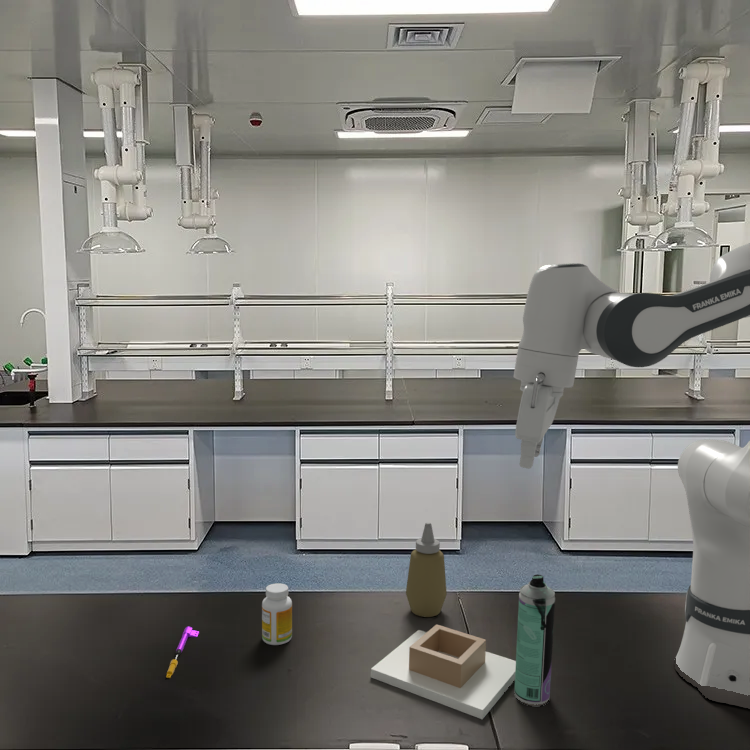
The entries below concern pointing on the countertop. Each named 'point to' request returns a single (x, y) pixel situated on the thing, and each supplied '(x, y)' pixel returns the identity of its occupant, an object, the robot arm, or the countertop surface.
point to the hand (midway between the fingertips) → (529, 461)
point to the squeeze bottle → (426, 576)
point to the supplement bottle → (277, 615)
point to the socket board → (448, 670)
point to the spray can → (534, 642)
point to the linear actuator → (181, 648)
